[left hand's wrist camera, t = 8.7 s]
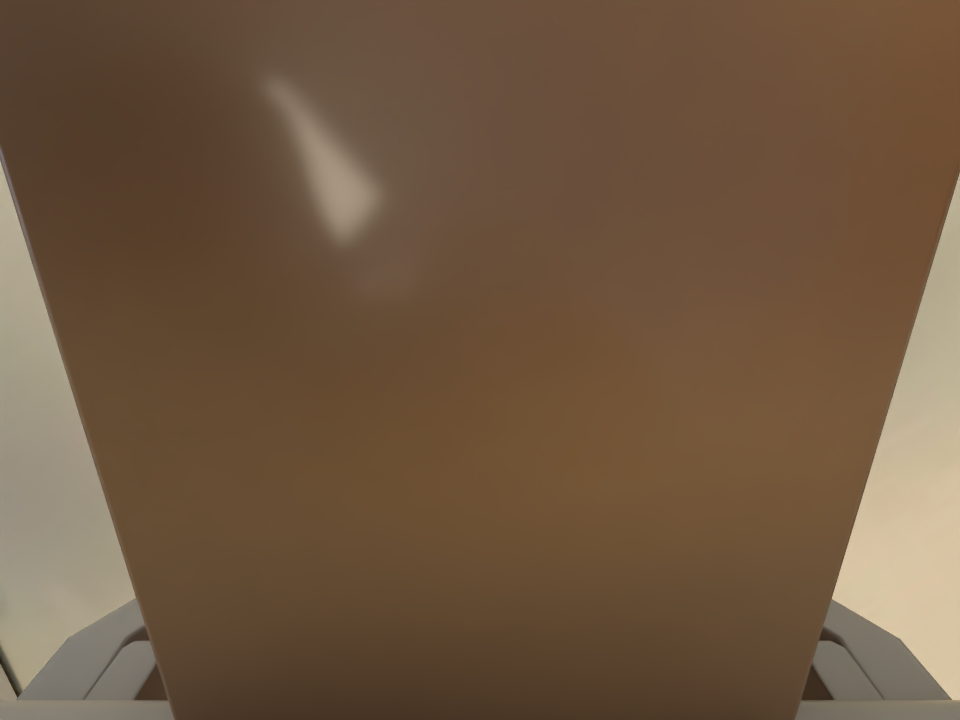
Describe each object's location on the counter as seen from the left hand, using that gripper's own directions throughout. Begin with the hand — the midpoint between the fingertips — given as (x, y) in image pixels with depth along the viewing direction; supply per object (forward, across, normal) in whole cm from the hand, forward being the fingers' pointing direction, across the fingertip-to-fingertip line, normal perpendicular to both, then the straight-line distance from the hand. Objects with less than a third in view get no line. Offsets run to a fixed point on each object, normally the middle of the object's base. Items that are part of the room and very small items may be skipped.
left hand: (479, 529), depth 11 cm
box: (+8, 0, -7) cm, 10 cm away
